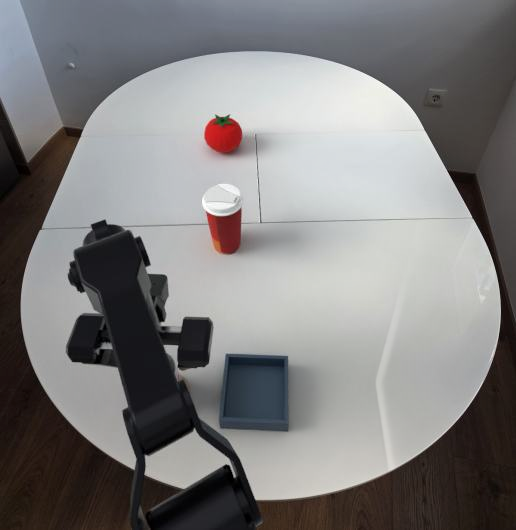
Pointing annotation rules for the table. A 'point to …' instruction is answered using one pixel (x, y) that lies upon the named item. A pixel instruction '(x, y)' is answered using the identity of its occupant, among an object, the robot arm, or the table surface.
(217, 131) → the tomato
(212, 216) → the coffee cup
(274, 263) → the table surface
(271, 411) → the crate
